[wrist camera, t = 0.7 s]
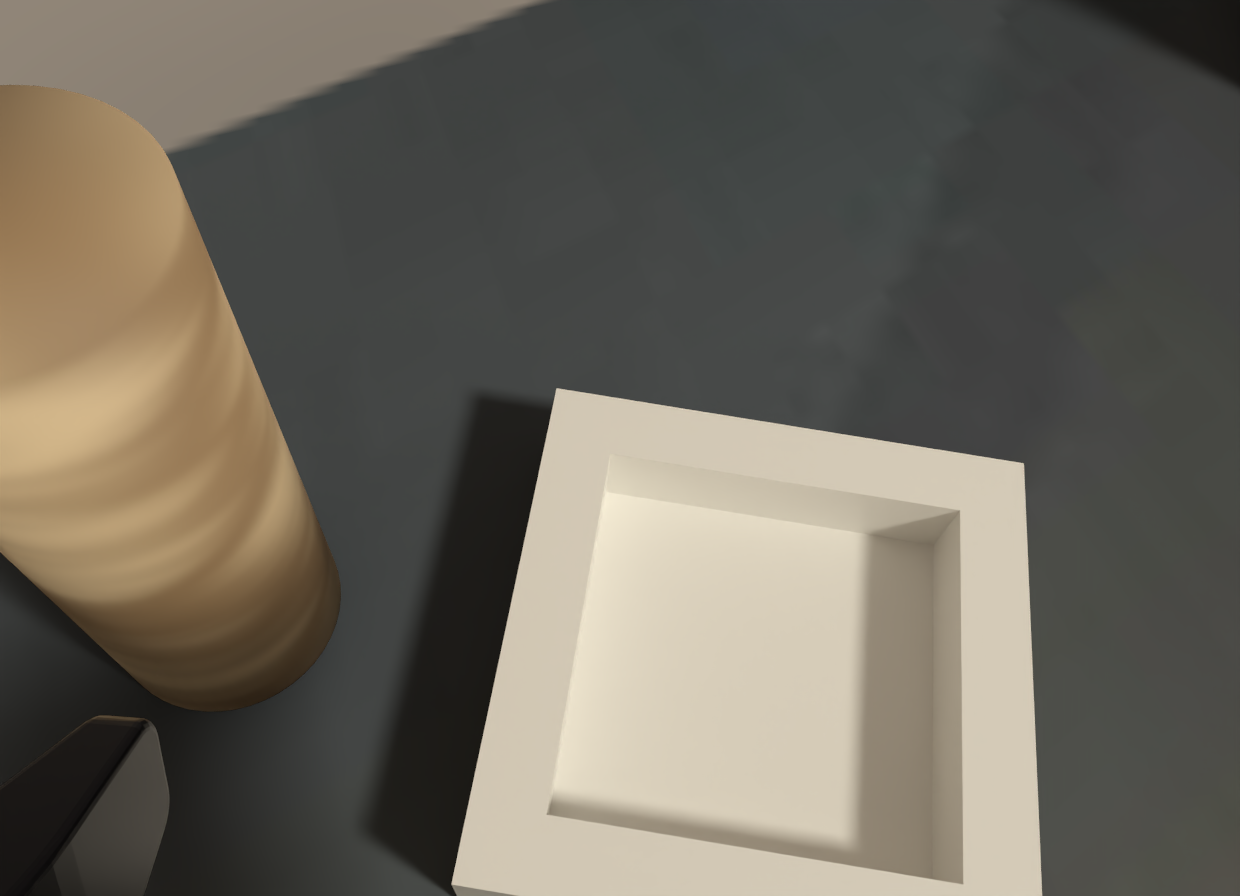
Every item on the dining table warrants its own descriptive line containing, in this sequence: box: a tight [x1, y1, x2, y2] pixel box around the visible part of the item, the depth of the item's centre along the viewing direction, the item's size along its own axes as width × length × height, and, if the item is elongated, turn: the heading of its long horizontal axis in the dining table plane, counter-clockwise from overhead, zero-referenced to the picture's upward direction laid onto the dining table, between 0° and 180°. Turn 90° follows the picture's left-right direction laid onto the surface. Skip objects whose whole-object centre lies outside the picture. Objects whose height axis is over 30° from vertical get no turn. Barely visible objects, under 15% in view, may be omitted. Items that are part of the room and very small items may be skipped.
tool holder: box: [451, 389, 1042, 896], centre depth 24 cm, size 11×11×2 cm
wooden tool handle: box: [0, 85, 341, 711], centre depth 19 cm, size 5×5×13 cm
